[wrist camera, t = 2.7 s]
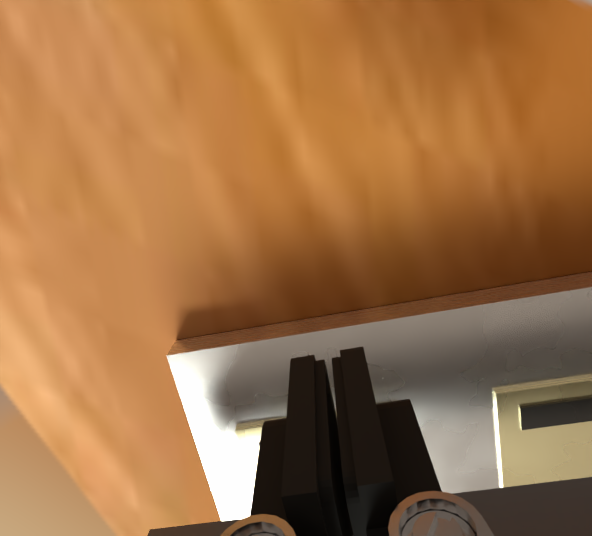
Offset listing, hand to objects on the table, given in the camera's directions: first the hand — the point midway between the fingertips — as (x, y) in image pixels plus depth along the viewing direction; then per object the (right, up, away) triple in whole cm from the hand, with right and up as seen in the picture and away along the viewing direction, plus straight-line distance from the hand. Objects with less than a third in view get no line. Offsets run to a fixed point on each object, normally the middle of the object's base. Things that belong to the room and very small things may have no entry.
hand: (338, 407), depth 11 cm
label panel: (+5, -4, +9) cm, 11 cm away
